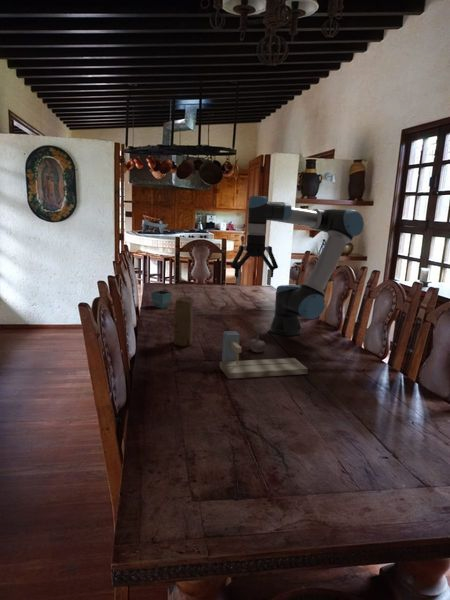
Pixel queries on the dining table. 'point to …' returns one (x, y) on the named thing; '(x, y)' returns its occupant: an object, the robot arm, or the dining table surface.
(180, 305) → the stone
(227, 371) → the board
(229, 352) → the hammer
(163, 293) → the flower pot
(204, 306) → the dining table surface
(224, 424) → the dining table surface
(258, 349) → the garlic bulb
